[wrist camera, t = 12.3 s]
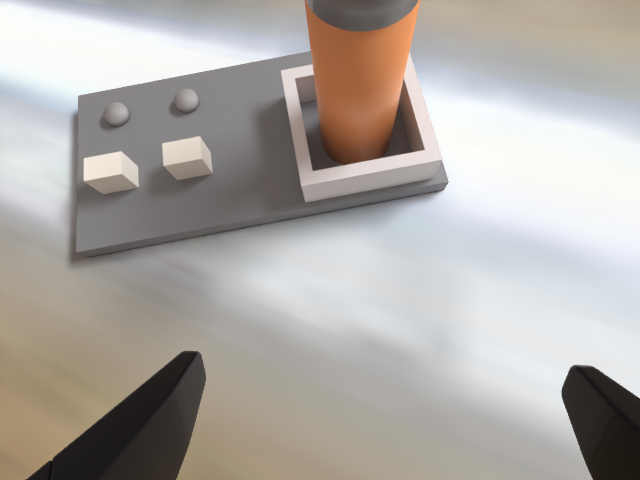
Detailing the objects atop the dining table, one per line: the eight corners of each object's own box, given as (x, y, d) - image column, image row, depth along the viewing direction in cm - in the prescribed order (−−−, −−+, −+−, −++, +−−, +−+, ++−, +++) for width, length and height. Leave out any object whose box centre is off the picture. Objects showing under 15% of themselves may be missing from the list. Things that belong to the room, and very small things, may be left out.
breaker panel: (88, 257, 25) (46, 241, 22) (88, 106, 29) (53, 71, 25) (443, 189, 25) (460, 162, 22) (400, 46, 29) (408, 2, 25)
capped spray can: (347, 180, 24) (348, 4, 12) (307, 129, 26) (272, -79, 13) (405, 142, 25) (463, -64, 12) (363, 94, 26) (379, -139, 14)
